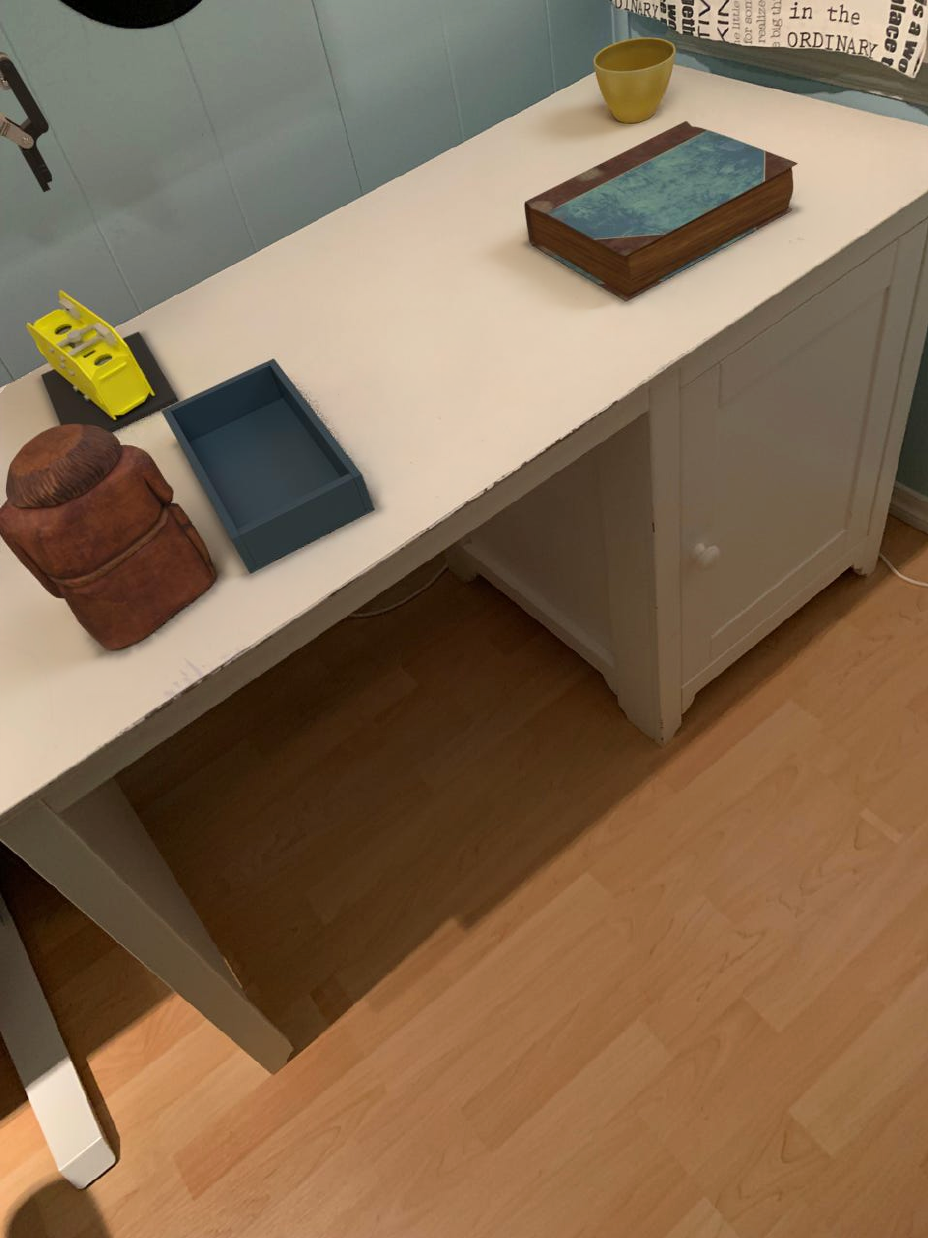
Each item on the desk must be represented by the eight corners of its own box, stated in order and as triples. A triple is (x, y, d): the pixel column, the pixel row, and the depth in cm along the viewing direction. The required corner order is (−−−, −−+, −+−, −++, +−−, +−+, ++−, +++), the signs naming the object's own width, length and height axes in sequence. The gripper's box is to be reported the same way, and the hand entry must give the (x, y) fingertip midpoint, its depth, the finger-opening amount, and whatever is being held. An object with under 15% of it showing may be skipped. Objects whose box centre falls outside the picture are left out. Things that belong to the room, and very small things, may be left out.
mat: (71, 450, 90) (68, 446, 90) (43, 378, 100) (40, 374, 100) (178, 401, 93) (176, 396, 92) (140, 335, 102) (138, 331, 102)
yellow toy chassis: (162, 398, 92) (124, 329, 86) (116, 427, 91) (74, 359, 84) (95, 348, 101) (57, 282, 95) (52, 373, 99) (10, 308, 93)
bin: (250, 573, 75) (230, 539, 71) (179, 444, 88) (160, 410, 84) (374, 509, 77) (361, 473, 73) (288, 392, 90) (273, 357, 87)
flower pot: (684, 120, 112) (685, 58, 106) (606, 139, 112) (603, 78, 107) (662, 90, 118) (662, 30, 112) (589, 108, 118) (585, 49, 113)
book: (683, 163, 105) (684, 119, 101) (794, 210, 94) (800, 163, 90) (528, 243, 100) (523, 200, 96) (627, 302, 89) (626, 256, 85)
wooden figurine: (191, 547, 78) (90, 381, 64) (230, 580, 74) (131, 412, 61) (78, 630, 74) (-57, 472, 60) (113, 669, 71) (-21, 511, 57)
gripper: (-38, -39, 71) (67, 164, 84) (-214, 22, 68) (-79, 222, 81) (-25, -22, 66) (83, 190, 79) (-214, 43, 64) (-71, 252, 76)
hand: (1, 206), depth 80 cm, fingers open, 8 cm apart
